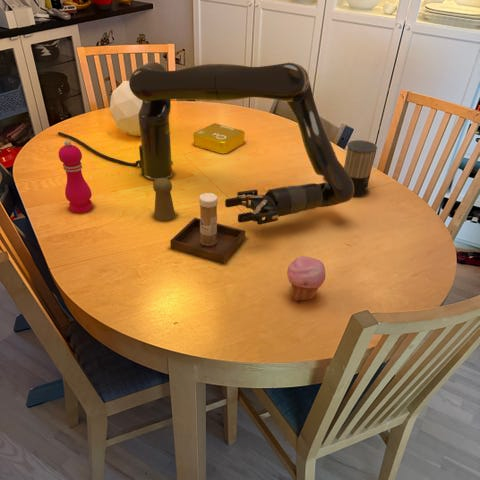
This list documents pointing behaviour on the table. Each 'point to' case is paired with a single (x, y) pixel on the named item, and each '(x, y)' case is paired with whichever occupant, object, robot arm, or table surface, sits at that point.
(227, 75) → the robot arm
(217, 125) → the element tile
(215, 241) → the sprinkles bottle
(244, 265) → the table surface
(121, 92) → the ball
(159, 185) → the olive chess pawn
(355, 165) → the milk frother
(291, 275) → the cupcake
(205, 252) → the tray
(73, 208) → the pepper mill
